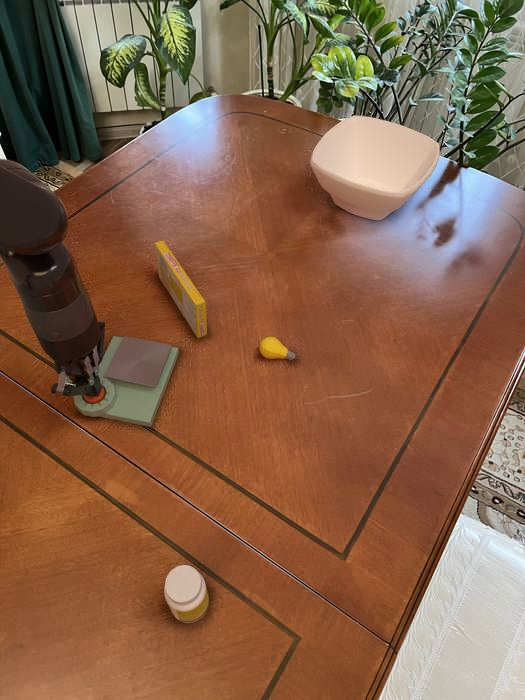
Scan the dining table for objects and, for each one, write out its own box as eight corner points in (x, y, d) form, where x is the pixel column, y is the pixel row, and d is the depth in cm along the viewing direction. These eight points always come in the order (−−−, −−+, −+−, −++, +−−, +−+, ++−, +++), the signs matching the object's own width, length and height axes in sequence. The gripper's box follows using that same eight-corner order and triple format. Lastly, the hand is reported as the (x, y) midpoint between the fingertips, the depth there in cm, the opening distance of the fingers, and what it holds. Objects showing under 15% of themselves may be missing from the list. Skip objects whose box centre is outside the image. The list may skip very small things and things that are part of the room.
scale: (148, 432, 83) (145, 422, 81) (72, 417, 85) (66, 406, 82) (179, 352, 92) (177, 341, 90) (109, 339, 94) (105, 328, 91)
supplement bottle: (217, 597, 70) (213, 577, 63) (193, 632, 68) (186, 615, 61) (186, 574, 72) (179, 552, 65) (161, 607, 69) (152, 588, 62)
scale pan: (156, 387, 85) (155, 386, 84) (104, 377, 86) (104, 376, 85) (172, 345, 89) (172, 344, 89) (124, 336, 90) (123, 335, 90)
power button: (101, 408, 84) (99, 402, 83) (82, 404, 84) (79, 398, 83) (109, 391, 86) (107, 385, 84) (90, 387, 86) (87, 382, 85)
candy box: (209, 334, 95) (206, 301, 88) (197, 339, 94) (193, 306, 87) (169, 273, 103) (163, 238, 96) (158, 277, 102) (151, 242, 96)
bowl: (394, 254, 107) (408, 204, 97) (291, 212, 114) (295, 162, 104) (438, 191, 118) (453, 141, 109) (342, 156, 125) (349, 106, 116)
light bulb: (257, 345, 93) (265, 329, 91) (291, 359, 94) (300, 343, 92) (254, 358, 91) (262, 341, 88) (289, 371, 91) (298, 355, 89)
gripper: (56, 272, 74) (87, 351, 88) (8, 351, 66) (50, 425, 80) (111, 281, 73) (133, 360, 87) (68, 363, 65) (100, 436, 79)
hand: (93, 391), depth 84 cm, fingers closed
